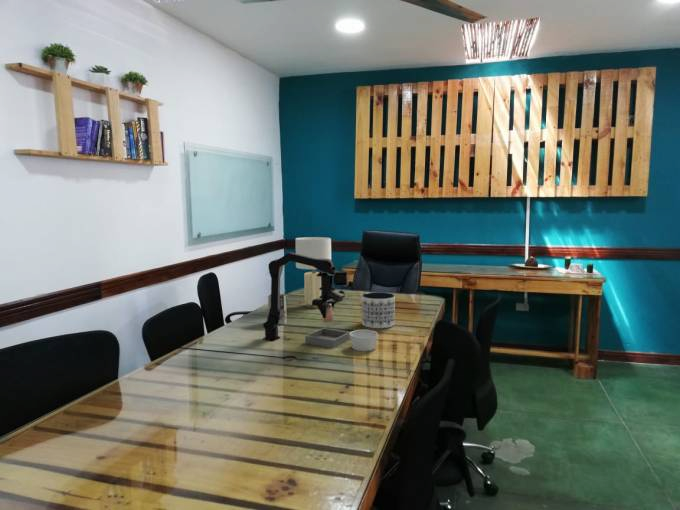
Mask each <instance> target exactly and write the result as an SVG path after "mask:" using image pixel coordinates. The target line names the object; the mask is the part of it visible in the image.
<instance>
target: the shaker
mask: <svg viewBox="0 0 680 510" xmlns="http://www.w3.org/2000/svg"><path fill="white" fill-rule="evenodd" d="M327 305H329V306H328V307H327V310H326V318H323V316H322V315H321V316H322V318H321V320H322V321H321V322H323V323H332V322H333V320H334V318H333V317H334V316H333V315H334V314H333V311H334V308H333V307H332V303H327Z"/></svg>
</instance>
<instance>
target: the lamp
mask: <svg viewBox="0 0 680 510" xmlns="http://www.w3.org/2000/svg"><path fill="white" fill-rule="evenodd" d="M295 254H299V255H303V256H307V257H312V258H317V259H330V260H332V239H331V238H330V237H325V236H324V237H323V236H321V237H320V236H313V237H312V236H309V237H308V236H306V237H296V238H295ZM295 267H296V268H297V269H300V270H311V271H308V272H305V273H304V275H303V276H304V277H303V278H304V305H305V308H307V309H318V307H317V306H314V305H312V301H313V299H316V298H320V296H321V290H319V288H320V287H321V276H317V274H319V272H320V271H316V270H317V269H316V268H315V267H313V266H309V265H305V264H301V263H297V262H295ZM320 299H322V298H320Z"/></svg>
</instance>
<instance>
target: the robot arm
mask: <svg viewBox="0 0 680 510" xmlns="http://www.w3.org/2000/svg"><path fill="white" fill-rule="evenodd" d="M289 262H293V263H296V262H297V263H301V264H305V265H309V266H313V267H315V268H316V269H315V270H318V272H319V274H317V276H321V287H320V288H319V290H321V296H320V298H322V299H320V298H316V299H313V301H312V305H314V306H317V307H318V308H317V309H318V310H319V312H320V314H321V316H323V318H326V310H327V307H328V306H329V305H327V303H332V307H333V309H334V308H335V306H336V304H338V303H340V302H342V301H343V300H344V298H346V294H345V291H344V290H343V289H341V290H336V287H335V286H344V287H345V286H349V281H350V280H349V275H348V271H345V270H344V271H338V269H337V268H336V267H335V265H334V262H333V260H332V259H331V260H330V259H317V258H312V257H307V256H303V255H299V254H296V252H292V251H289V252H287V253H286V254H285V255H283V256H281V257H280V258H276V259H273V260H271V261H269V263H268V273H269V276H270V278H271V280H270V281H271V282H270V286H271V287H270V294H271V307H270V310H269V309H268V315H267V320H266V321H265V322H264V323H263V324H262V325H263V328H264V335H265V336H264V337H262V340H266V341H271V342H274V341H276V340H278V339H280V338H281V336H279V326H278V325H280V324H279V322H280V321H281V320H282V318H283V317H284V316H283V311H284V309H281V308H280V294H281V277H282V274H283V272H284V271H283V270H284V267H285V265H286V264H289ZM334 285H335V286H334Z"/></svg>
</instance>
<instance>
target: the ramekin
mask: <svg viewBox="0 0 680 510" xmlns="http://www.w3.org/2000/svg"><path fill="white" fill-rule="evenodd" d="M349 332H350V346H351V348H352V350H354V351H358V352H370V351H373V350H375V349H376V348H377V343H378V336H379V334H378V332H377V331H374V330H373V329H372V330H370V329H357V330H356V329H355V330H353V331H349Z"/></svg>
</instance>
